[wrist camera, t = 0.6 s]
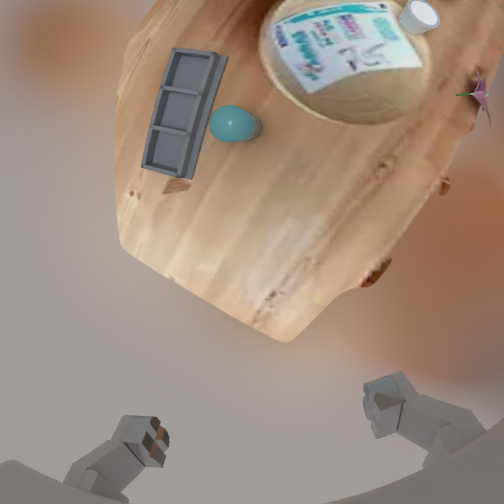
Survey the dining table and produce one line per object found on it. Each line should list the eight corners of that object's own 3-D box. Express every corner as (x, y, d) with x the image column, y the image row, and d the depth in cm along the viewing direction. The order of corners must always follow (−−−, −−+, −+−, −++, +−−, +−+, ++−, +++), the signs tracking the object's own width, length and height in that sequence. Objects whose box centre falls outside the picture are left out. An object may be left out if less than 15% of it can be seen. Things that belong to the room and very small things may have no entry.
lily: (471, 134, 38) (508, 133, 29) (446, 105, 34) (487, 100, 25) (469, 90, 36) (502, 87, 27) (443, 59, 32) (479, 51, 23)
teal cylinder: (229, 122, 45) (202, 117, 32) (253, 109, 44) (236, 98, 30) (242, 144, 47) (220, 148, 33) (266, 132, 45) (254, 130, 32)
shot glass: (394, 28, 32) (406, 16, 25) (397, 5, 29) (408, -8, 22) (424, 43, 32) (439, 34, 25) (426, 19, 29) (440, 9, 22)
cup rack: (176, 50, 40) (168, 45, 37) (228, 57, 40) (223, 51, 36) (145, 165, 51) (135, 168, 47) (192, 178, 51) (185, 182, 47)
